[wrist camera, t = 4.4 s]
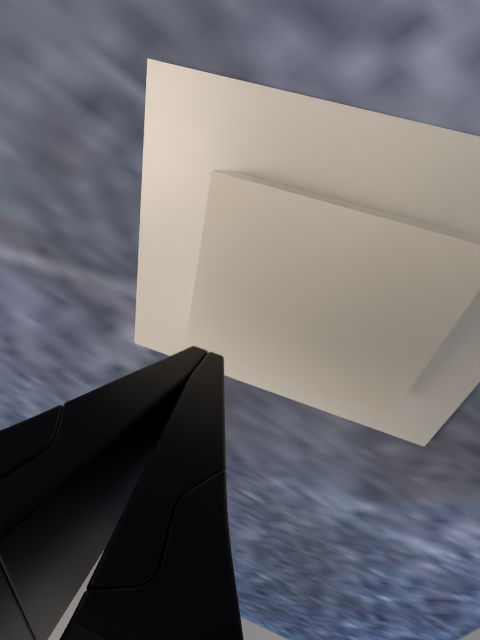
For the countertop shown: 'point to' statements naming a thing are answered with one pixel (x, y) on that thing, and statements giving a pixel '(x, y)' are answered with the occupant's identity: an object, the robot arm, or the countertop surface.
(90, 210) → the countertop surface
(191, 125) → the beige board
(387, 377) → the tile
